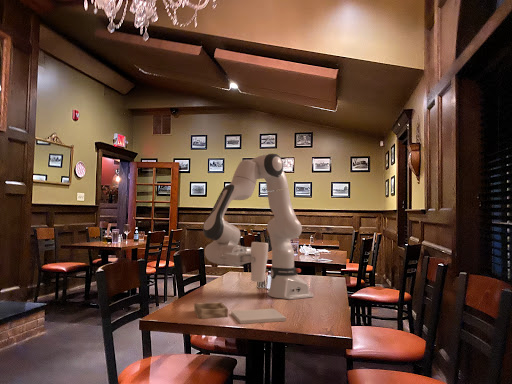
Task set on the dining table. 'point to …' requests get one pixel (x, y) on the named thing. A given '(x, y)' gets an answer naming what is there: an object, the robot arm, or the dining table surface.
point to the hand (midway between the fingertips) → (260, 259)
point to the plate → (257, 316)
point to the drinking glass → (259, 261)
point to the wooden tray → (210, 310)
